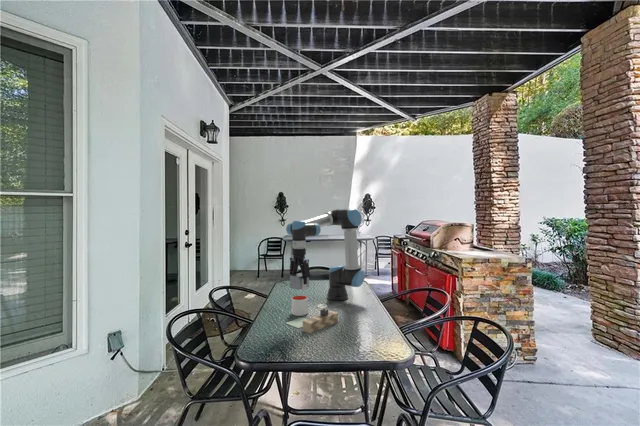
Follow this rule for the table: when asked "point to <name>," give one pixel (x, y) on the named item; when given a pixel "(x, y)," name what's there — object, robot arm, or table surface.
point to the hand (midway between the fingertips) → (299, 288)
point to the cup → (299, 305)
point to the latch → (324, 312)
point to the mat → (297, 322)
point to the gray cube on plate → (297, 281)
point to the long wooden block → (319, 322)
